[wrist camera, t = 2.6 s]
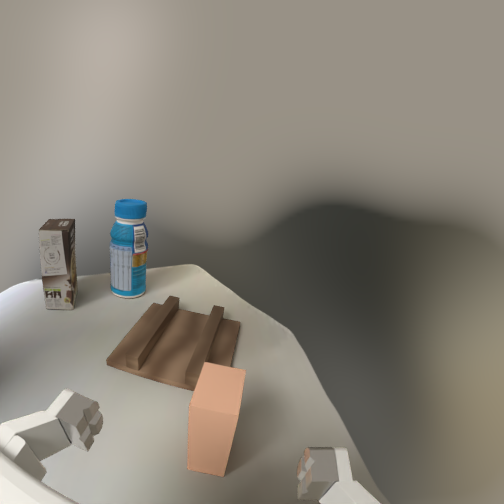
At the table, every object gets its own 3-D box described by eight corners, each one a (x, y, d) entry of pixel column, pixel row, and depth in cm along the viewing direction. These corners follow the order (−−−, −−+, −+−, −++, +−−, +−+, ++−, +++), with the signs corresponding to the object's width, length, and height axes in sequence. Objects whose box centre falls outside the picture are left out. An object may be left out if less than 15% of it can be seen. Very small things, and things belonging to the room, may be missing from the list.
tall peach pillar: (187, 469, 23) (189, 405, 20) (198, 431, 29) (204, 361, 26) (223, 476, 23) (238, 415, 20) (230, 438, 29) (245, 370, 26)
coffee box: (74, 310, 47) (68, 229, 42) (45, 309, 44) (37, 229, 39) (78, 289, 55) (76, 218, 50) (53, 289, 52) (48, 217, 47)
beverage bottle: (109, 299, 54) (109, 204, 48) (111, 282, 61) (113, 197, 56) (147, 300, 58) (152, 206, 52) (145, 283, 65) (150, 199, 59)
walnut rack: (107, 364, 36) (104, 346, 35) (153, 307, 55) (153, 291, 54) (223, 397, 36) (226, 380, 35) (239, 326, 55) (242, 310, 54)
